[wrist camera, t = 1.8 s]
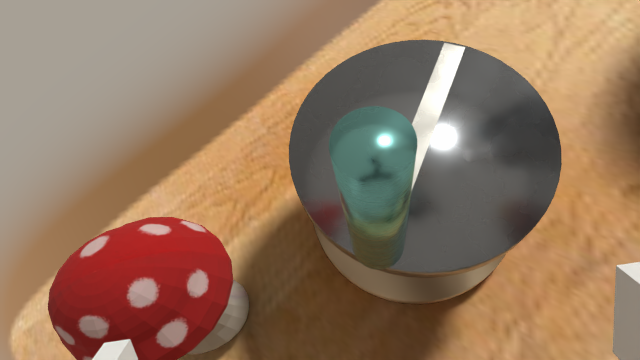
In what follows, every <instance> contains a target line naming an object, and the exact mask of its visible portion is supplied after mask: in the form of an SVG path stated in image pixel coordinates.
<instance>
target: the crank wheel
mask: <svg viewBox="0 0 640 360" xmlns="http://www.w3.org/2000/svg"><path fill="white" fill-rule="evenodd" d="M289 164H290V170H291V176H292V179H293V182H294V185H295V188H296V191H297V194H298V196H299V198H300V200H301V202H302V204H303V206H304V208H305V210H306V212H307V214H308V216H309V217H310V219H311V220H312V222H313V223H314V225H315V226H316V228H317V229H318V230H319V231H320V232H321V233H322V234H323V235H324V237H325V238H326V239H327V240H328V241H329V242H331V243H332V244H333V245H334V246H335V247H337V248H338V249H339V250H340V251H341V252H343V253H345V254H346V255H348V256H349V257H351V258H353V259H354V260H356V261H358V262H360V263H362V264H363V265H364V266H366V267H368V268H371V269H376V270H380V271H383V272H386V273H389V274H394V275H399V276H405V277H415V278H437V277H448V276H453V275H457V274H462V273H466V272H469V271H472V270H475V269H478V268H480V267H483V266H485V265H487V264H489V263H491V262H493V261H495V260H497V259H499V258H500V257H502V256H503V255H504V254H506V253H507V252H508V251H510V250H511V249H513V248H514V247H515V246H516V245H517V244H518V243H519V242H520V241H521V240H522V239H523V238H524V237H525V236H526V235H527V234H528V233H529V232H530V231H531V230H532V229H533V228H534V227H535V226H536V224H537V223H538V222H539V220H540V219H541V218H542V216H543V215H544V214H545V212H546V211H547V209H548V207H549V205H550V203H551V201H552V199H553V197H554V194H555V191H556V188H557V185H558V182H559V177H560V170H561V145H560V140H559V134H558V131H557V128H556V125H555V122H554V119H553V117H552V115H551V113H550V111H549V109H548V107H547V105H546V103H545V102H544V101H543V99H542V98H541V96H540V95H539V94H538V92H537V91H536V90H535V89H534V88H533V87H532V85H531V84H530V83H529V82H528V81H527V80H526V79H525V78H524V77H522V76H521V75H520V74H519V73H518V72H516V71H515V70H514V69H513V68H511V67H510V66H508V65H506V64H505V63H503V62H502V61H500V60H498V59H497V58H495V57H493V56H491V55H489V54H487V53H484V52H482V51H479V50H476V49H474V48H471V47H467V46H464V45H460V44H456V43H450V42H444V41H434V40H408V41H401V42H394V43H389V44H385V45H381V46H377V47H374V48H371V49H369V50H366V51H363V52H361V53H359V54H357V55H355V56H352V57H350V58H349V59H347V60H345V61H344V62H342V63H341V64H339V65H337V66H336V67H335V68H334V69H332V70H331V71H330V72H328V73H327V74H326V75H325V76H324V77H323V78H322V79H321V80H320V81H319V82H318V83H317V84H316V85H315V86H314V87H313V89H312V90H311V91H310V92H309V94H308V95H307V97H306V98H305V100H304V102H303V103H302V105H301V107H300V109H299V111H298V113H297V116H296V118H295V120H294V124H293V127H292V131H291V136H290V144H289Z"/></svg>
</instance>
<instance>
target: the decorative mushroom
mask: <svg viewBox="0 0 640 360" xmlns="http://www.w3.org/2000/svg"><path fill="white" fill-rule="evenodd" d="M48 311H49V315H50V318H51V321H52V324H53V328H54V329H55V331H56V332H57V334H58V336H59V337H60V339H61V341H62V343H63V344H64V345H65V347H66V348H67V349H68V350H69V351H70V352H71V354H72V355H73V356H74V357H75V358H76V359H77V360H92V359H93V358H94V356H95V355H96V353H97V352H98V351H99V349H100V348H101V347H102V345H103V344H104V343H107V342H114V341H120V340H127V339H130V340H131V343H132V345H133V348H134V350H135V353H136V355H137V358H138V360H177V359H178V358H180V357H182V356H184V355H185V354H202V353H205V352H209V351H212V350H215V349H217V348H218V347H220V346H222V345H223V344H225V343H227V342H228V341H230V340H231V339H232V338H233V337H234V336H235V335H236V334H237V333H238V332H239V331H240V330H241V328H242V327H243V325H244V323H245V322H246V319H247V315H248V311H249V299H248V295H247V293H246V291H245V289H244V287H243V286H242V285H240V284H239V283H238V282H236V281H235V280H233V274H232V264H231V259H230V257H229V256H228V254H227V252H226V250H225V248H224V246H223V245H222V243H221V241H220V240H219V239H218V238H217V237H216V236H215V235H213V234H212V233H211V232H210V231H208V230H207V229H206V228H205V227H203V226H202V225H199V224H195V223H192V222H189V221H186V220H183V219H178V218H174V217H150V218H146V219H142V220H139V221H135V222H132V223H128V224H125V225H123V226H122V227H119V228H116V229H113V230H109V231H106V232H105V233H103V234H101V235H99V236H97V237H95V238H93V239H92V240H90V241H88V242H87V243H85V244H84V245H83V246H82V247H80V248H79V249H78V250H77V251H76V252H74V253H73V254H72V255H71V256H70V257H69V258H68V259H67V261H66V262H65V263H64V264H63V266H62V267H61V268H60V269H59V271H58V273H57V275H56V277H55V280H54V282H53V284H52V286H51V288H50V292H49V301H48Z"/></svg>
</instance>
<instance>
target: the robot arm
mask: <svg viewBox="0 0 640 360" xmlns="http://www.w3.org/2000/svg"><path fill="white" fill-rule="evenodd" d="M613 353H614V354H615V355H616V356H617V357H618V358H619V359H620V360H640V262H636V263H629V264H623V265H616V281H615V306H614V331H613ZM92 360H138V358H137V355H136V353H135V350H134V348H133V345H132V343H131V340H130V339H127V340H120V341H114V342H107V343H104V344H103V345H102V347H101V348H100V349H99V351H98V352H97V353H96V355H95V356H94V358H93V359H92Z"/></svg>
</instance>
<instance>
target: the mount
mask: <svg viewBox="0 0 640 360" xmlns="http://www.w3.org/2000/svg"><path fill="white" fill-rule="evenodd" d="M313 225H314V223H313ZM314 228H315V231H316V234H317V237H318V239H319V241H320V243H321V245H322V247H323V249H324V251H325V253H326V255H327V256H328V258H329V259H330V261H331V262H332V264H333V265H334V266H335V267H336V268H337V269H338V271H339V272H340V273H341V274H342V275H343V276H344V277H346V278H347V279H348V280H349V281H350V282H351V283H353V284H354V285H356V286H357V287H359V288H361V289H362V290H364V291H366V292H368V293H370V294H372V295H374V296H376V297H379V298H383V299H386V300H389V301H393V302H398V303H405V304H428V303H435V302H440V301H445V300H448V299H451V298H454V297H456V296H459V295H461V294H463V293H465V292H467V291H469V290H471V289H472V288H474V287H475V286H476V285H478V284H479V283H480V282H482V281H483V280H484V279H485V278H486V277H487V276H488V275H489V274H490V273H491V272H492V271H493V270H494V269H495V268H496V267H497V266H498V264H499V263H500V262H501V260H502V259H503V258H504V256H505V255H506V254H504V255H503V256H502V257H500V258H499V259H497V260H495V261H493V262H491V263H489V264H487V265H485V266H483V267H480V268H478V269H475V270H472V271H469V272H466V273H462V274H457V275H453V276H448V277H437V278H415V277H405V276H399V275H394V274H389V273H386V272H383V271H380V270H376V269H371V268H368V267H366V266H364V265H363V264H362V263H360V262H358V261H356V260H354V259H353V258H351V257H349V256H348V255H346V254H345V253H343V252H341V251H340V250H339V249H338V248H337V247H335V246H334V245H333V244H332V243H331V242H329V241H328V240H327V239H326V238H325V237H324V235H323V234H322V233H321V232H320V231H319V230H318V229H317V228H316V226H315V225H314Z"/></svg>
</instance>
